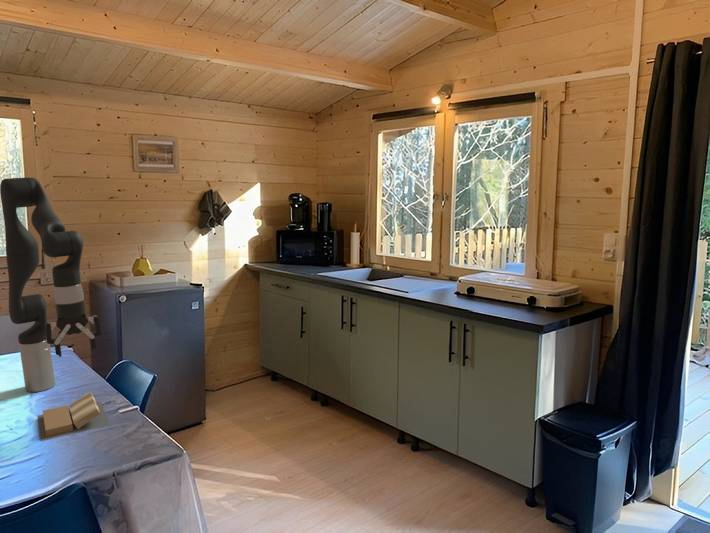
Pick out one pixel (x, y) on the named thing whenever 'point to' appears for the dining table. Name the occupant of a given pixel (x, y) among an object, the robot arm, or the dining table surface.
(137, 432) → the dining table surface
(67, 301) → the robot arm
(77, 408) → the oak plank
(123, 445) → the dining table surface
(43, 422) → the floor section
